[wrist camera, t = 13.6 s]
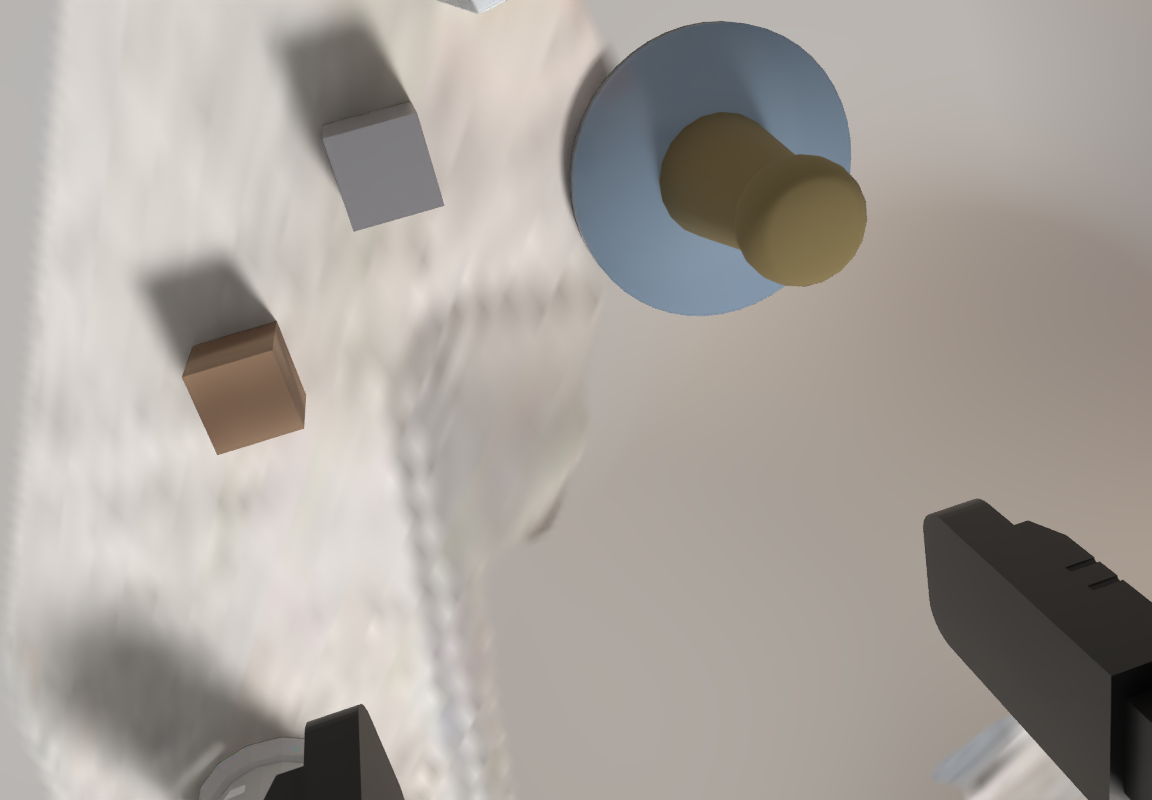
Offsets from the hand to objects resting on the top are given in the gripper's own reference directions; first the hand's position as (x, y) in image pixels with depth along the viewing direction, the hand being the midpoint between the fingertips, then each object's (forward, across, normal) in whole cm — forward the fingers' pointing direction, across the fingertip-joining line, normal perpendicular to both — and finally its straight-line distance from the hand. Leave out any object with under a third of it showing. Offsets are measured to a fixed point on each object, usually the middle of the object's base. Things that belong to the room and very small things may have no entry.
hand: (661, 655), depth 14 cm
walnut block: (+36, +11, +7) cm, 38 cm away
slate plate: (+36, -13, +4) cm, 39 cm away
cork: (+35, -13, +4) cm, 38 cm away
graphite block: (+36, +2, -1) cm, 36 cm away
